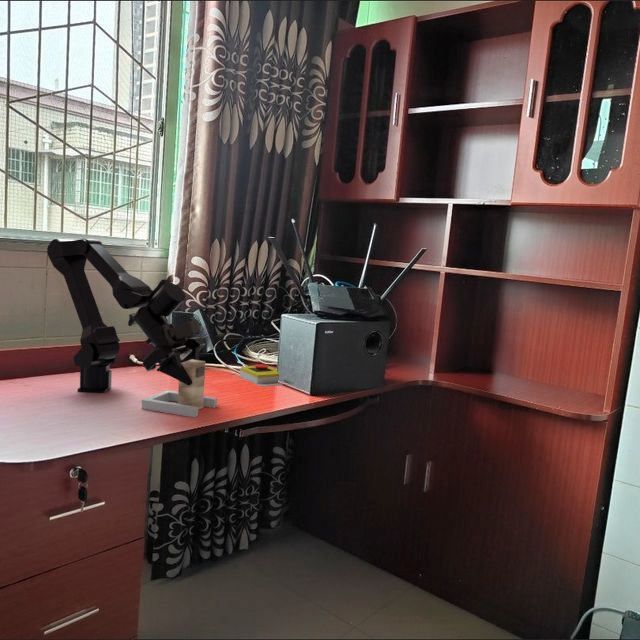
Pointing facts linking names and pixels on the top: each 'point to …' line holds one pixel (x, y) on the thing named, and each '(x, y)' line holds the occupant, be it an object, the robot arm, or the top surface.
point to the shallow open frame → (174, 404)
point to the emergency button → (260, 375)
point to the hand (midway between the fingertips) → (197, 381)
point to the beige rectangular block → (193, 384)
